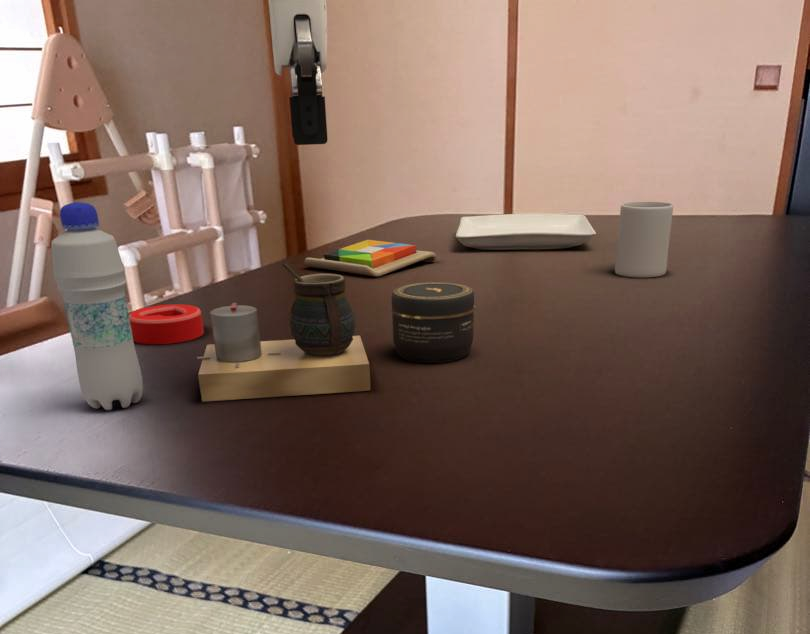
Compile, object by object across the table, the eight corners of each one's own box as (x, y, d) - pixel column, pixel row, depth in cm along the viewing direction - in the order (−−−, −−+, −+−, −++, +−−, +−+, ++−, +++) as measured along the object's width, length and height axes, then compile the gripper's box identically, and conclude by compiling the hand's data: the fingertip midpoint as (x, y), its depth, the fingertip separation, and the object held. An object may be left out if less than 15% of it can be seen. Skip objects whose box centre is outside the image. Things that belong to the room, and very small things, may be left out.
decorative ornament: (203, 324, 119) (200, 301, 118) (204, 340, 111) (201, 316, 110) (133, 329, 118) (129, 306, 116) (129, 346, 109) (125, 322, 108)
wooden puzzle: (302, 269, 155) (300, 249, 153) (371, 254, 167) (370, 235, 166) (371, 279, 145) (370, 258, 143) (439, 262, 157) (439, 242, 156)
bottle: (128, 389, 93) (92, 196, 84) (159, 402, 89) (124, 200, 80) (71, 404, 89) (26, 203, 80) (101, 418, 85) (56, 208, 75)
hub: (261, 360, 91) (256, 311, 89) (214, 363, 91) (208, 314, 88) (262, 348, 95) (257, 301, 93) (217, 351, 95) (211, 303, 92)
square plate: (460, 232, 189) (461, 214, 188) (583, 231, 187) (584, 212, 185) (455, 253, 166) (455, 232, 164) (595, 251, 163) (597, 230, 161)
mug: (668, 277, 139) (677, 207, 134) (616, 277, 140) (622, 207, 135) (660, 264, 150) (667, 198, 144) (611, 264, 151) (617, 199, 146)
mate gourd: (368, 353, 93) (364, 259, 88) (306, 364, 89) (298, 268, 85) (339, 339, 98) (333, 250, 94) (279, 349, 95) (270, 258, 90)
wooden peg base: (196, 402, 89) (191, 373, 87) (205, 369, 99) (201, 343, 98) (370, 390, 91) (369, 362, 89) (361, 360, 101) (360, 334, 100)
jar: (418, 338, 109) (417, 278, 105) (487, 347, 104) (489, 285, 101) (377, 358, 101) (374, 294, 98) (450, 369, 97) (450, 302, 93)
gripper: (255, -52, 83) (272, 139, 91) (249, -85, 68) (270, 148, 76) (330, -53, 84) (341, 136, 92) (341, -85, 69) (353, 145, 77)
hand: (309, 141), depth 84 cm, fingers open, 9 cm apart
